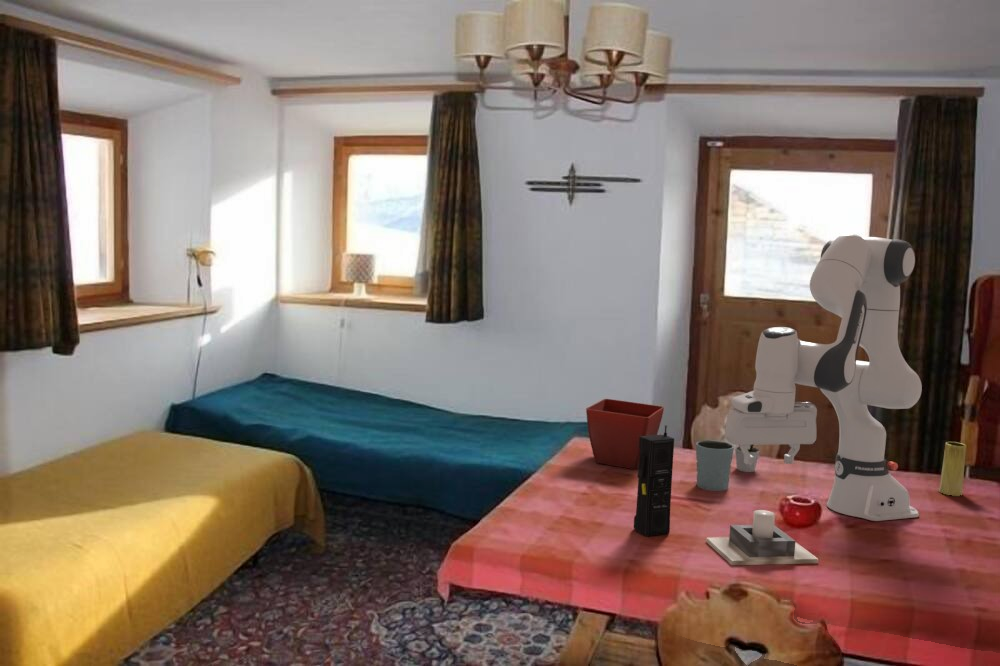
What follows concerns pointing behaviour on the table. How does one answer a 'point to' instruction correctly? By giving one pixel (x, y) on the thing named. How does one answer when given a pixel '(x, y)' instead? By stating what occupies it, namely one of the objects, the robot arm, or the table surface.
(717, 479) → the teal cup
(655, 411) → the plant pot
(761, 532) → the connector plug
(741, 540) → the end holder
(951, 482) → the vase
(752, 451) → the house plant
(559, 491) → the table surface
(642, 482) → the portable radio
